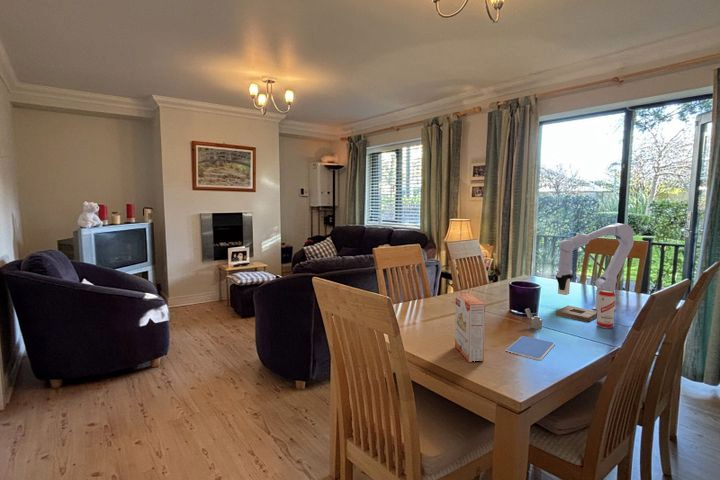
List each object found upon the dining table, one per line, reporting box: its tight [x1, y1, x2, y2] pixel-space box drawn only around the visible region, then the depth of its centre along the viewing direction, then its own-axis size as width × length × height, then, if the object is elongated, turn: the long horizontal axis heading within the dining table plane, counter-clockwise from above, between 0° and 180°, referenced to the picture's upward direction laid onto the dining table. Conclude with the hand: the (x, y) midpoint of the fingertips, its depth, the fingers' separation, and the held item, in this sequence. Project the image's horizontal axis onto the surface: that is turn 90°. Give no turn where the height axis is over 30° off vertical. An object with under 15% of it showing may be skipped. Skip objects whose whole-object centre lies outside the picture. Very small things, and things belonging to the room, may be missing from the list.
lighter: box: [524, 307, 543, 331], centre depth 164 cm, size 7×2×8 cm, turn 42°
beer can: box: [596, 290, 616, 329], centre depth 164 cm, size 6×6×16 cm
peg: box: [557, 278, 571, 296], centre depth 193 cm, size 4×4×8 cm
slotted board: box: [555, 305, 597, 323], centre depth 181 cm, size 14×14×2 cm
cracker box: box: [454, 293, 486, 363], centre depth 135 cm, size 14×6×21 cm, turn 5°
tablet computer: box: [505, 335, 556, 361], centre depth 142 cm, size 19×13×1 cm, turn 139°
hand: (563, 289), depth 194 cm, fingers closed on peg, 4 cm apart
